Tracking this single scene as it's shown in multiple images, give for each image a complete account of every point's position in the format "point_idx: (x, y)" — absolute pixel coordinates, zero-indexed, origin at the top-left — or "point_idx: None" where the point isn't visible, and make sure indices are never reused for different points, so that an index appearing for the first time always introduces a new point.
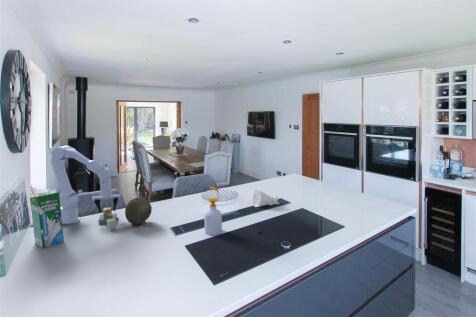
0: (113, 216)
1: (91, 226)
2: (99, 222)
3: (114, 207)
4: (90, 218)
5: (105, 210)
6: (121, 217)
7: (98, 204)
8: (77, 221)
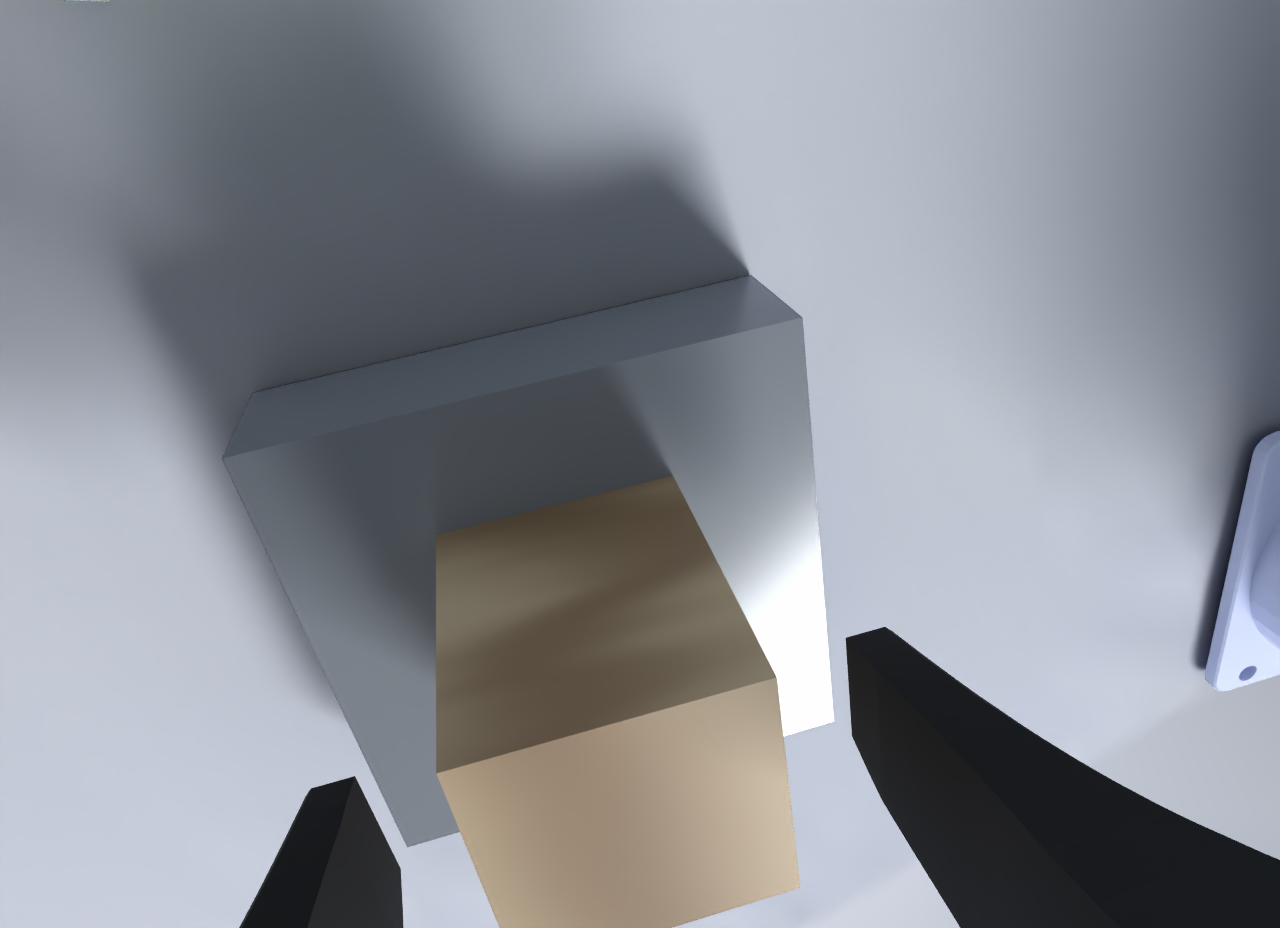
0: (400, 624)
1: (925, 145)
2: (747, 297)
3: (276, 922)
4: (1013, 673)
5: (667, 684)
6: (275, 741)
7: (1167, 906)
8: (1274, 477)
